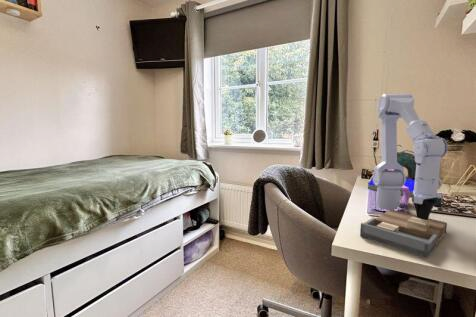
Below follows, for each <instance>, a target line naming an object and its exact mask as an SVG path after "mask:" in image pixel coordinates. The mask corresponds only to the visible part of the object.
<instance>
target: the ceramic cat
mask: <svg viewBox="0 0 476 317" xmlns="http://www.w3.org/2000/svg"><path fill="white" fill-rule="evenodd" d="M398 146H399V147H401V148H402V145H401V144H397V147H398ZM412 153H413V154H412ZM397 163H399V164H400V165H401V166H402V167H404V169H406V170H407V178H411V179H413V178H414V179H415V174H416V164H417V162H415V155H414V152H413V151H411V150H402V151H400V152H399V151H397ZM383 171H388V169H384V170H383Z"/></svg>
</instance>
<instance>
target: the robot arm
mask: <svg viewBox="0 0 476 317" xmlns="http://www.w3.org/2000/svg"><path fill="white" fill-rule="evenodd" d="M414 105H415V98H414V97H413V95H412V94H411V93H401V94H400V93H398V94H397V93H395V94H394V93H393V94H392V93H391V94H389V93H383V94H381V96H380V98H379V100H378V102H377V115H378V118H380V120H381V122H380V123H381V124H380V125H381V126H380V127H381V162H380V163H378V164H377V165H375V166H374V168H373V174H372V176H373V182H374V184H375V185H376V186H377V190H376V202H375V206H377V207H378V208H381V209H386V210H394V209H397V207H398V206H399V205H401V196H402V195H401V192H400V190H399V189H401V187H402V186H403V185H404V184H405V182H406V179H407V178H406V177H407V176H406V174H405V167H402V166H401V165H400V164H399V163H397V152H398V146H397V145H398V143H397V142H398V141H397V140H398V135H397V134H398V133H397V122H398V120H399V119H401V118H402V119H403V121H404V122H405V123H406V125H407V128H406V132H407V134H408V135H409V137H410V139H411V141H412V142H413V147H412V149H413V151H412V152H414V154H413V155H414V156H415V162H417V164H416V174H415V178H414V180H415V184H414V190H413V195H414V197H411V202H412V204H413V206H414V208H415V213H416V214H415V215H416V216H417V218H420V219H424V220H428V218H429V217H430V215H431V212H432V210H433V208H434V206H435V203H436V202H437V199H433V198H436V197H438V198H441V197H442V198H443V194H442V193H438V191H439V190H438V181H439V179H440V170H441V164H442V158H444V157H445V156H446V155H447V152H448V143H447V141H446V139H445V138H443V137H440V136H438V135H436V134H435V133H434V131H433V130H432V128H431V127H430V125H429V124H428V122H427V121H426V120H424V119H422V120H421V119H420V117H419V116H418V113H417V110H416V109H415V107H414ZM384 169H393V170H394V171H384ZM437 190H438V191H437ZM429 219H430V218H429Z"/></svg>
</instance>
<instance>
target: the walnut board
mask: <svg viewBox="0 0 476 317" xmlns="http://www.w3.org/2000/svg"><path fill="white" fill-rule="evenodd" d="M411 217H416V218H417V214H413V213H412V214H411V213H407V212H404V211H400V210H399V211H395V210H389V211H387V212H383V214H381V215H380V216H378V217H376V220H375V224H376V225H379V224H380V223H382V222H385V223H389V224H392V225H396V226H399V231H400V232H404V233H407V234H411V235H414V236H418V237H421V238H425V239H428V240H429V239H430V238H431V237H432V236H433V234H435V235H437V243H436V245H437V244H438V242H440V240H441V239H442V237H444V235H446V233H447V229H448V228H447V227H448V222H446V221H441V220H439V219H438V220H437V219H433V218H428V221H430V224H429V228H428V229H427V230H426V231H421V230H417V229H414V228H410V227H407V220H409V219H410V218H411Z"/></svg>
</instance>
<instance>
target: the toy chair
mask: <svg viewBox="0 0 476 317" xmlns="http://www.w3.org/2000/svg"><path fill="white" fill-rule="evenodd" d="M388 171H395V170H393V169H388ZM399 190H403V192H404V195H402V198H401V199H402V201H403V202H404V203H405V204H404V203H403V202H402V201H401V202H402V203H403V204H404V205H405V206H409V200H410V196H409V195H410V191H409V188H408V187H406V186H404V185H403V186H402V187H401V189H399Z"/></svg>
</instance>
